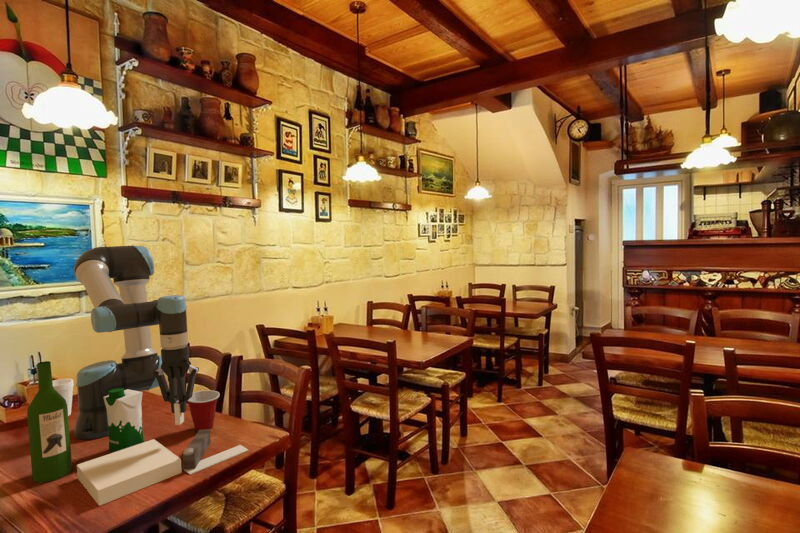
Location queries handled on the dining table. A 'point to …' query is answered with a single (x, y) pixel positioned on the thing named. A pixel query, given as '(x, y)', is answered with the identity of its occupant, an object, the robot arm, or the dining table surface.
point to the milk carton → (124, 418)
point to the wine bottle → (48, 430)
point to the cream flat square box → (127, 471)
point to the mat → (217, 459)
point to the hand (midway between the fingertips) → (179, 422)
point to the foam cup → (65, 390)
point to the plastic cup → (203, 408)
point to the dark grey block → (196, 449)
